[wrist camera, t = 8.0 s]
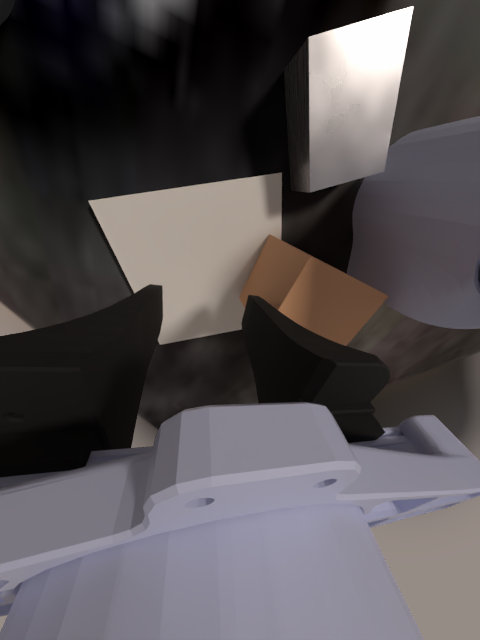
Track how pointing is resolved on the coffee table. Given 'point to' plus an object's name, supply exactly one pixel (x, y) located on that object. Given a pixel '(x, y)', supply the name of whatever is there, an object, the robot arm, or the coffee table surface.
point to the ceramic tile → (194, 247)
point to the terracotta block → (311, 292)
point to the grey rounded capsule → (5, 9)
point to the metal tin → (344, 101)
